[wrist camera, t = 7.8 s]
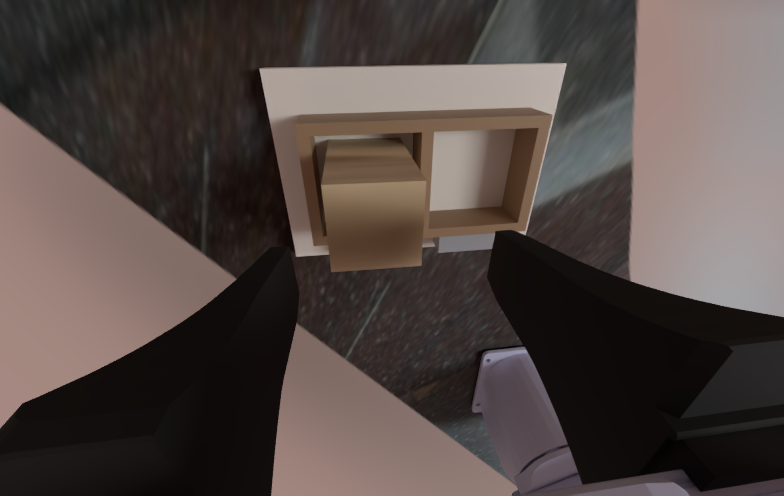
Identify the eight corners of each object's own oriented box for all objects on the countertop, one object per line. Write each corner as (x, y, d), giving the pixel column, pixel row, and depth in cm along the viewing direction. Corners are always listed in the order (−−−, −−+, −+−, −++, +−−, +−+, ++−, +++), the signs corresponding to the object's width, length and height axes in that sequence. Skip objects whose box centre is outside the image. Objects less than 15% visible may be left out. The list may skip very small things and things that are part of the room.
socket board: (518, 232, 24) (541, 258, 21) (298, 248, 23) (291, 278, 20) (556, 62, 18) (595, 65, 15) (263, 67, 17) (246, 72, 14)
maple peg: (398, 202, 21) (421, 265, 15) (334, 205, 20) (331, 272, 14) (399, 137, 18) (426, 180, 13) (328, 139, 18) (321, 185, 12)
